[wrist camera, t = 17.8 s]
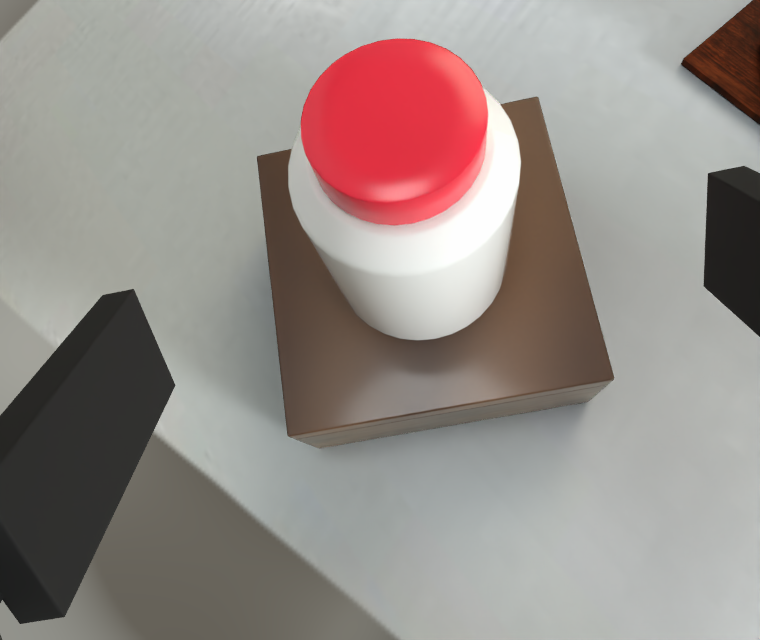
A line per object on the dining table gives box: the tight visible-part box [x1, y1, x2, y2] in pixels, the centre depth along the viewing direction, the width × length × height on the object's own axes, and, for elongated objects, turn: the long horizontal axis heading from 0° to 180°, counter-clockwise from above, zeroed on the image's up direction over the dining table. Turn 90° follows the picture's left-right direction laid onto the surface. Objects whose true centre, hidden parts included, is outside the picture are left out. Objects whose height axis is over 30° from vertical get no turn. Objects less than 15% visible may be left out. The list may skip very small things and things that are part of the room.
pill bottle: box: [288, 39, 521, 340], centre depth 24 cm, size 8×8×11 cm
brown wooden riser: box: [257, 97, 614, 448], centre depth 32 cm, size 14×14×6 cm
